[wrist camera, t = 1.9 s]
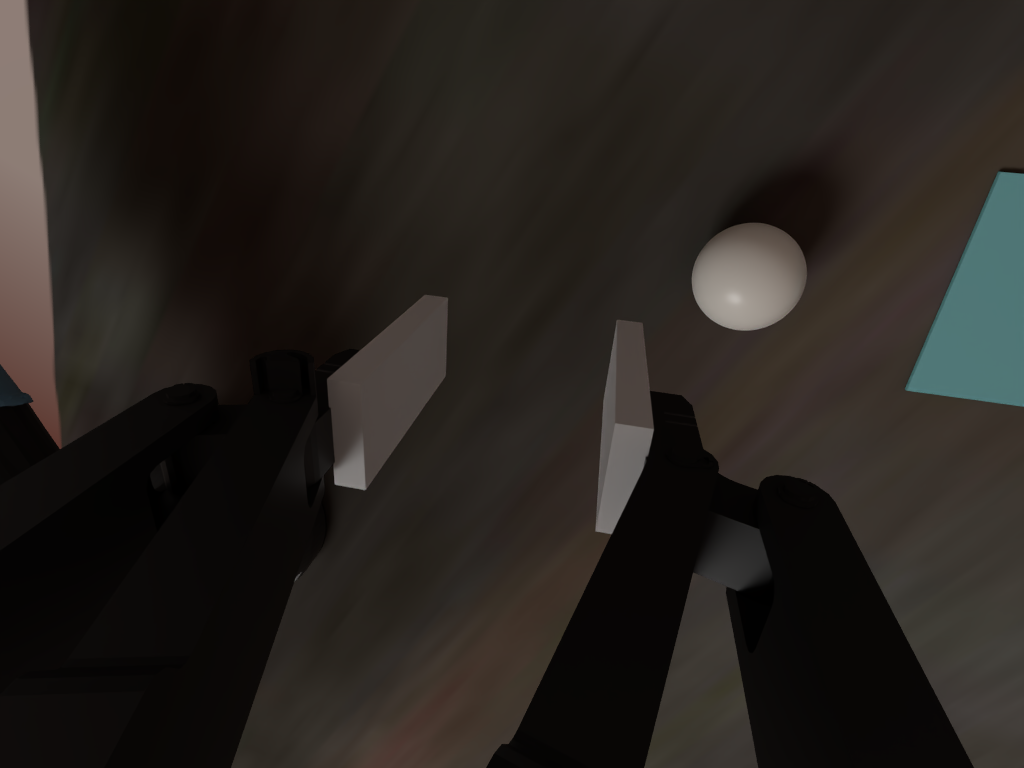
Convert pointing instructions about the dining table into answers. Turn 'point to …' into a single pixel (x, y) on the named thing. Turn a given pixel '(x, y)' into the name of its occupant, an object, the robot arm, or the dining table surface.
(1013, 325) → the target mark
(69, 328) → the dining table surface
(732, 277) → the ball
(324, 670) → the dining table surface
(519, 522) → the dining table surface
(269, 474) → the robot arm
